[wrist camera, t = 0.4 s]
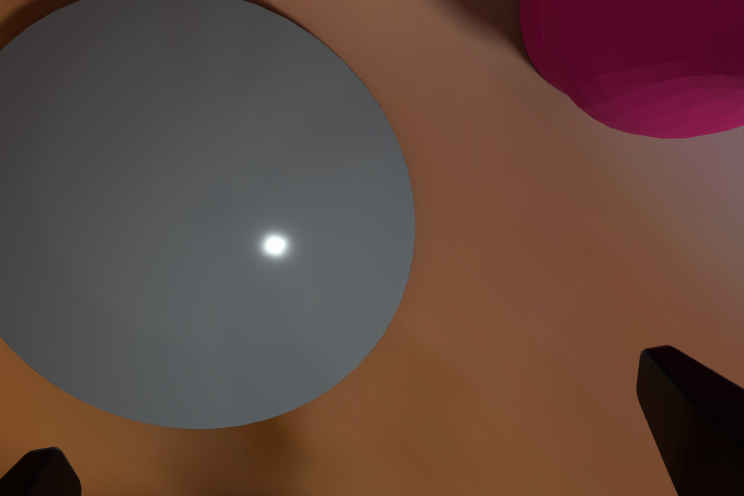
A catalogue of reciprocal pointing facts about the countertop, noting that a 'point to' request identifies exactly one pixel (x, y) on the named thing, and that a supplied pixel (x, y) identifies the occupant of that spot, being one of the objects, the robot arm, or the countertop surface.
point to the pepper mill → (643, 61)
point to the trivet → (194, 210)
